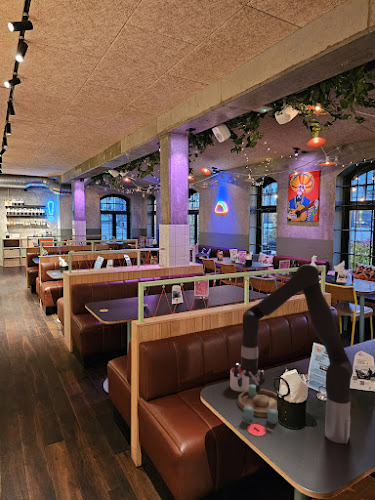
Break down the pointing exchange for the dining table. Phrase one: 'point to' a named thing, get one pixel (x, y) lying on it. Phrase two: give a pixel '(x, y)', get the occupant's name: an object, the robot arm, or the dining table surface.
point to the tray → (249, 403)
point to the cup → (234, 381)
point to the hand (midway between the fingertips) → (248, 389)
